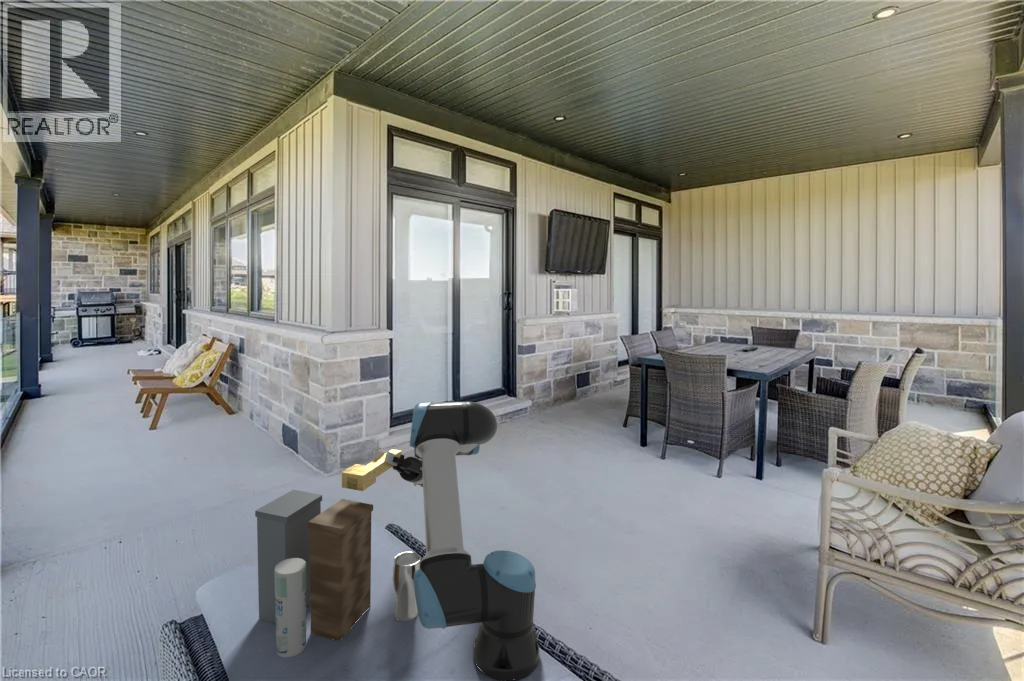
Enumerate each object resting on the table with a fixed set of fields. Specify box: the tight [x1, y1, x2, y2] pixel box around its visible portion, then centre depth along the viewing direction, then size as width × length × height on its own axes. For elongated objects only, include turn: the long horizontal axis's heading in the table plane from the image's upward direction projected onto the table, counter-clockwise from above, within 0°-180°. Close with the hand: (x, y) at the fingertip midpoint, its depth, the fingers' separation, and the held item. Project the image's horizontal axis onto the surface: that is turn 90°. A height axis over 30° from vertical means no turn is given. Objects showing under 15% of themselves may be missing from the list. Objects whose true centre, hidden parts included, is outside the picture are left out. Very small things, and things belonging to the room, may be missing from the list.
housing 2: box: [308, 498, 374, 642], centre depth 122 cm, size 13×9×28 cm
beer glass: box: [392, 551, 421, 622], centre depth 126 cm, size 7×7×15 cm
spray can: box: [274, 558, 307, 658], centre depth 113 cm, size 6×6×20 cm
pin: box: [341, 448, 402, 492], centre depth 135 cm, size 22×6×4 cm, turn 164°
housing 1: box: [254, 489, 323, 625], centre depth 126 cm, size 13×9×28 cm
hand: (380, 455), depth 136 cm, fingers closed on pin, 3 cm apart
